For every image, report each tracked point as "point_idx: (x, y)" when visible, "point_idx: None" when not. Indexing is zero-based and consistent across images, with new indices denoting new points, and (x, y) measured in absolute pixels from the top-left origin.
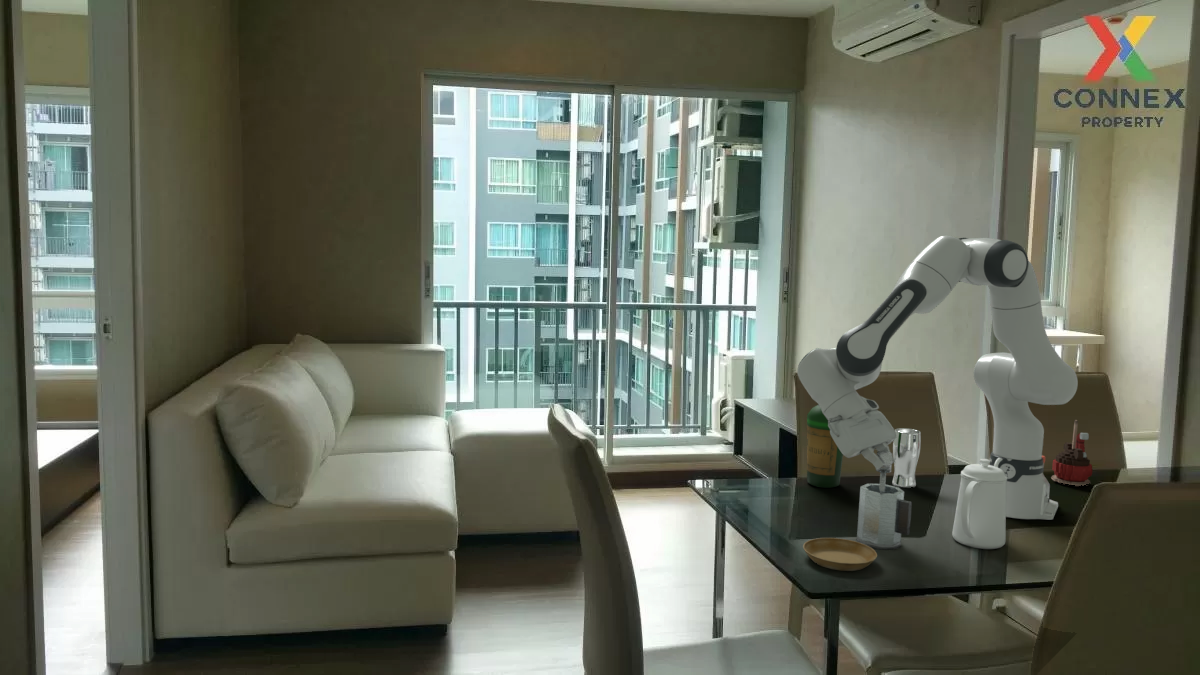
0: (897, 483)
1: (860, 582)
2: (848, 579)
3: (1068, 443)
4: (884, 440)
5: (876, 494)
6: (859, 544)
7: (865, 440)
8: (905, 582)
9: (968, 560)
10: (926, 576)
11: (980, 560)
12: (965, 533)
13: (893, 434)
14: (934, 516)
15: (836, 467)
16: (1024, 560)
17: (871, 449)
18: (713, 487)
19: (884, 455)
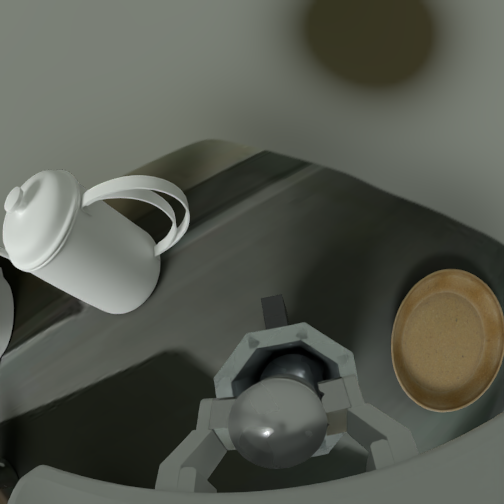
0: (15, 480)
1: (475, 251)
2: (483, 269)
3: None
4: (176, 494)
5: (355, 368)
6: (393, 353)
7: (454, 481)
8: (415, 216)
9: (226, 224)
10: (365, 214)
11: (208, 215)
12: (172, 244)
13: (47, 482)
14: (67, 390)
15: None
16: None
17: (390, 452)
18: None
19: (318, 398)
